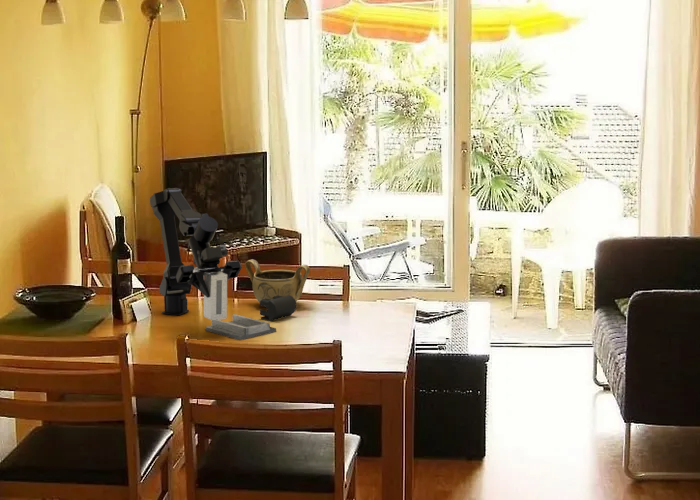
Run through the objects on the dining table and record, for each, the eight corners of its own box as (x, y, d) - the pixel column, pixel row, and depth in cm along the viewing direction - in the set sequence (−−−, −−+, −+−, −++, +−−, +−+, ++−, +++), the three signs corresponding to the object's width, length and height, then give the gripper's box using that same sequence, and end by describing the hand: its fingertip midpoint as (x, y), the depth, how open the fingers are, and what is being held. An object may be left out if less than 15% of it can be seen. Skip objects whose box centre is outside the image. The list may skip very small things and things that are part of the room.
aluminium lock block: (203, 316, 297) (204, 272, 295) (219, 314, 300) (220, 271, 298) (210, 320, 293) (211, 275, 291) (226, 318, 295) (227, 274, 293)
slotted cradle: (205, 330, 304) (205, 320, 304) (241, 322, 314) (241, 312, 314) (239, 340, 293) (239, 330, 293) (276, 331, 303) (276, 321, 303)
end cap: (276, 323, 314) (276, 301, 313) (258, 319, 318) (258, 298, 317) (296, 317, 322) (296, 296, 321) (279, 313, 326) (279, 293, 325)
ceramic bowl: (235, 309, 332) (234, 263, 329) (259, 298, 347) (258, 255, 345) (297, 315, 323) (297, 269, 321) (319, 304, 339) (319, 260, 336)
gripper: (178, 238, 291) (193, 283, 284) (238, 233, 300) (254, 277, 293) (169, 260, 299) (184, 305, 292) (228, 255, 308) (243, 298, 301)
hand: (217, 295), depth 294 cm, fingers closed on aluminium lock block, 5 cm apart
